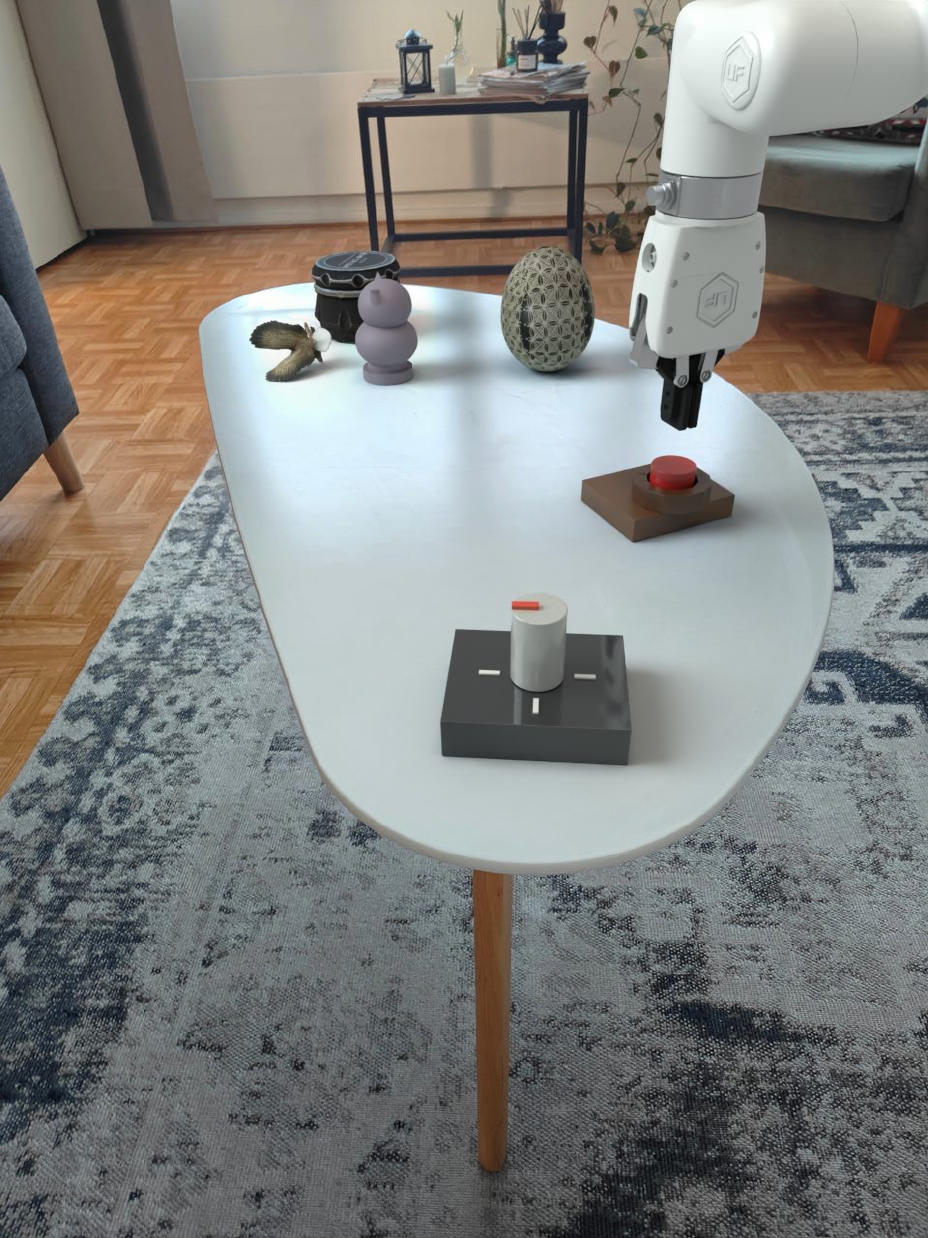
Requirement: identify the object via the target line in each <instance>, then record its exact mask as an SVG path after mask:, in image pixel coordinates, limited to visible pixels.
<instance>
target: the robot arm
mask: <svg viewBox="0 0 928 1238" xmlns="http://www.w3.org/2000/svg"><path fill="white" fill-rule="evenodd" d="M675 20H676V21H675V23H674V28H673V35H672V45H671V56H670V65H669V73H668V74H669V75H668V84H667V85H668V86H667V93H666V103H665V104H666V105H665V113H664V114H665V116H664V122H663V123H664V125H663V135H662V145H661V155H660V164H659V165H660V166H659V172H658V179H657V183H656V185H649V186H648V188H647V190H646V192H645V200H646V203H647V204H648V206H650V207H652V206H655V213H654V215H650V216H649V217H648V219H647V224H646V227H645V229H644V235H643V237H642V241H641V244H640V245H641V246H640V249H639V252H638V253H639V254H638V258H637V263H636V268H635V273H634V278H633V285H632V290H631V299H630V307H629V318H628V333H629V340H630V341H631V342H633V344H632V348H631V350H630V354H629V363H631V364H632V365H634V366H636V367H637V368H639V369H646V370H655V372H656V373H657V375H658V376H659V377H660V378H662V379H663V384H662V389H661V390H662V391H661V398H660V399H661V401H660V407H659V408H660V409H659V412H660V415H659V416H660V420H661V421H662V422H663V423H665V424H666V425H669V426H671V428H673V429H675V430H677V431H678V432H682V431H686V430H687V429H689V430H692V429H695V428H697V426H698V421H699V415H700V414H699V413H700V409H701V404H702V403H701V402H702V396H703V389H704V384H705V383H708V382H709V381H710V380H711V378H712V375H713V373H714V369H715V367H716V366H717V364H718V363H719V362H720V361H721V360H722V359H723V357H724V356H728V355H730V354H732V353H734V352H736V351H738V350H740V349H741V348H742V347H743V346H744V344H746V343H747V342H749V341H750V340H752V339H753V338H754V337H755V335H756V333H757V330H758V326H759V321H760V315H761V309H762V301H763V292H764V282H765V274H766V272H765V271H766V260H767V259H766V256H767V255H766V253H767V252H766V250H767V237H766V236H767V234H766V233H767V232H766V219H765V214H764V213H763V212H760V211H758V209H759V208H758V207H759V201H760V194H761V188H762V182H763V176H764V170H765V164H766V157H767V152H768V146H769V139H770V137H776V136H787V135H795V134H796V135H797V134H804V133H811V132H814V131H815V132H816V131H826V130H833V129H834V130H835V129H843V128H854V127H855V128H856V127H863V126H870V125H874V124H878V123H881V122H883V121H885V120H887V119H888V120H889V119H890V118H892V117H895V116H897V115H899V114H900V113H902V112H904V111H906V110H907V109H908V108H910V107H912V106H913V105H914V104H916V103H918V102H919V101H920V100H923V99H924V98H925V97H927V96H928V0H693V1H691V2H689V3H687V4H686V5H685V6H684V7H683V8H682V9H681V10H680V11H679V13H678V15H677V18H676V19H675Z"/></svg>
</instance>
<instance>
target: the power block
mask: <svg viewBox="0 0 928 1238" xmlns="http://www.w3.org/2000/svg"><path fill="white" fill-rule="evenodd" d="M650 470H651V463H647V464H643V465H640V466H634V467H631V468H627V469H626V468H625V469H622V470H618V471H613V472H610V473H605V474H602V475H597V476H593V477H589V478H585V479H584V478H583V479H582V480H581V490H580V501H581V502H583V503H584V504H585V505H586V506H587V507H588V508H589V509H591V510H592V511H594V512H595V513H596V514H597V515H598V516H599V517H601V518H602V519H604V521H606V522H607V523H608V524H610V525H611V526H612V527H613V528H614V529H615V530H617V531H618V532H619V533H621V534H622V535H623V536H624V537H625V538H626V539H628V540H629V541H630V542H632V543H635V542H638V541H642V540H647V539H650V538H654V537H657V536H660V535H661V536H662V535H665V534H668V533H672V532H676V531H679V530H683V529H687V528H690V527H691V528H692V527H694V526H697V525H701V524H705V523H709V522H712V521H716V520H719V519H725V518H727V517H730V516H732V515H733V511H734V504H735V499H736V494H735V493H733V492H732V491H730V490H728V489H727V488H726V487H724V486H723V485H721V484H719V483H718V482H716V481H715V480H713V479H711V475H710V474H709V473H707V472H705V470H703V469H701V468H699V467H698V466H697V468H696V475H695V482H694V486H693V487H692V488H688V489H684V490H667V489H663V488H659V487H655V486H654V485H652V484H651V483H650V480H649V479H650Z"/></svg>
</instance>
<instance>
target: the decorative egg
mask: <svg viewBox="0 0 928 1238" xmlns="http://www.w3.org/2000/svg"><path fill="white" fill-rule="evenodd" d="M595 307H596V305H595V299H594V293H593V288H592V283H591V282H590V279H589V276H588V273H587V272H586V270H585V268H584V267H583V266H582V264H581V262H579V260H578V259H577V258H576V257H575V256H574V255H572V254H571V253H570V252H568V251H567V250H565V249H563V248H560V247H558V246H553V245H545V246H544V245H543V246H539V247H536V248H534V249H532V250H529V251H528V252H527V253H526V254H525V255H523V256H522V257H521V258H520V259H519V261H518V262H517V263H516V264H515V265H514V267H513V268H512V270H511V271H510V273H509V275H508V278H507V279H506V282H505V285H504V288H503V292H502V296H501V303H500V327H501V332H502V336H503V340H504V342H505V345H506V346H507V348H508V350H509V351H510V354H512V355H513V357H514V358H515V359H516V360H517V361H518V362H520V363H521V364H522V365H524V366H525V367H527V368H530V369H532V370H535V371H539V372H555V371H559V370H562V369H564V368H566V367H568V366H569V365H571V364H573V363H574V362H575V361H576V360H578V358H579V357H580V356H581V355H582V354H583V352H584V351H585V350H586V348H587V347H588V345H589V342H590V341H591V338H592V336H593V335H592V334H593V331H594V326H595V318H596V317H595V316H596V309H595Z"/></svg>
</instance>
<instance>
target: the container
mask: <svg viewBox="0 0 928 1238" xmlns="http://www.w3.org/2000/svg"><path fill="white" fill-rule="evenodd" d="M377 271H378V273H379V275H380V277H381V278H382V279H391V280H394V281H397V282H398V283H400V284H401V280H400V279H401V278H400V277H399V276H400V273H401V271H402V267H401V265H400V262H399V261H398V260H397V258H396V256H395V255H393V254H391V253H387V252H383V251H382V252H381V251H377V250H376V251H375V250H361V251H359V250H354V251H343V252H341V251H340V252H335V253H331V254H327V255H325V256H321V257H319V258H317V259H316V260H315V261H314V264H313V266H312V267H311V273H310V276H311V278H312V279H313V280H314V283H313V289H314V292H315V293H316V298H315V307H314V308H315V309H314V317H315V319H316V320H317V321H318V322H319V326H320V328H324V329H326V330H327V331H328V332H330V335H331V340H333V341H335V342H337V343H346V344H355V336H356V332H357V330H358V328H359V327H360V326H361V324H362V323H363V322H364V321H363V319H362V318H361V316H360V313H359V309H358V299H359V295H360V293H361V291H362V290H363V289H364V288H365V286H366V285H368V284H369V283H371V282H372V281H374V280H375V277H376V274H377Z"/></svg>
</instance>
